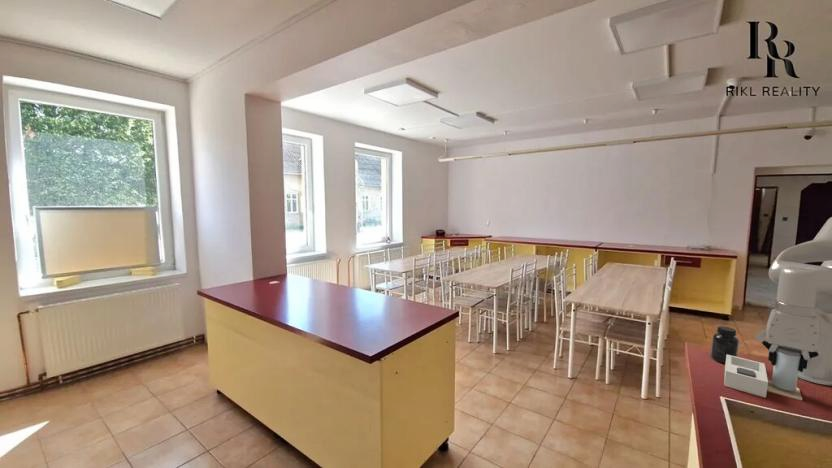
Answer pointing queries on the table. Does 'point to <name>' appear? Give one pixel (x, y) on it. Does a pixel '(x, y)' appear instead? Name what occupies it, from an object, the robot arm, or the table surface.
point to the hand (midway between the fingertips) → (786, 366)
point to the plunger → (745, 372)
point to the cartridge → (786, 368)
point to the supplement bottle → (724, 344)
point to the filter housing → (743, 382)
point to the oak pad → (784, 391)
